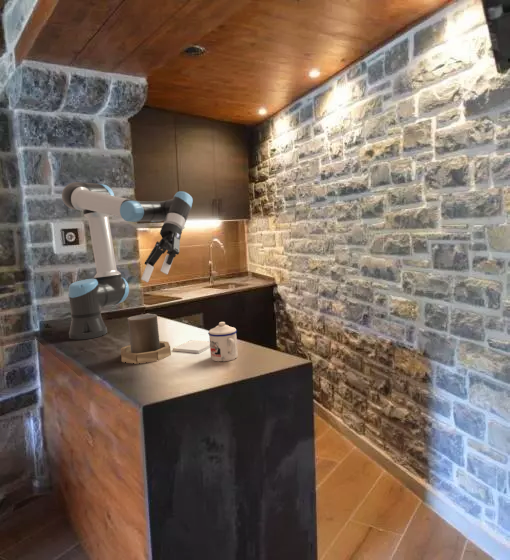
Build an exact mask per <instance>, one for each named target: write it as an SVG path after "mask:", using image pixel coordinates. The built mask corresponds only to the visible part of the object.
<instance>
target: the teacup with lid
mask: <svg viewBox="0 0 510 560" xmlns="http://www.w3.org/2000/svg"><path fill="white" fill-rule="evenodd" d="M237 332H238V330H237V329H236V327H234V326H233V327H232V326H229V325H228V324H226V322H225V321H220V322H219V323H218V325H216V326H215V327H213V328H210V329H209V331H208V335H209V341H210V348H209V350H210V359H211V360H212V361H215V362H219V361H223V362H229V361H233V360H236V359H237V358H238V357H239V354H238V340H237V339H238V338H237ZM235 358H236V359H235Z"/></svg>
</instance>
